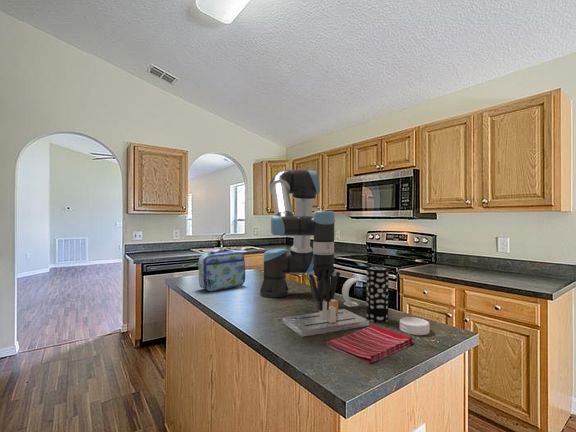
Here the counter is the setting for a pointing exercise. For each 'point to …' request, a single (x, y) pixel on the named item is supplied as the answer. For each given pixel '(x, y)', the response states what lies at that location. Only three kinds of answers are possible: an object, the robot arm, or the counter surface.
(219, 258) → the lunch box
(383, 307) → the white-spotted black cylinder
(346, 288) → the headphone stand
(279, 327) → the counter surface
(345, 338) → the dish towel
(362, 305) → the counter surface
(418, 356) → the counter surface
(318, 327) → the console
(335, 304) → the fader terracotta
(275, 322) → the counter surface
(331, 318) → the fader cream
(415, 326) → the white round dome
